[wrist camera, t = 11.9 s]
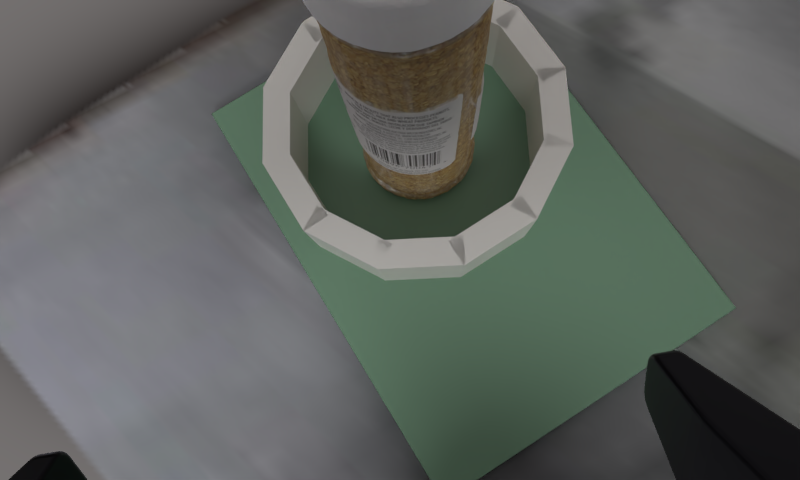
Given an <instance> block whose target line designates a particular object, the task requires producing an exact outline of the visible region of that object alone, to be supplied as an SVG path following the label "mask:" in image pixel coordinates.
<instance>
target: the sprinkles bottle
mask: <svg viewBox="0 0 800 480" xmlns="http://www.w3.org/2000/svg"><path fill="white" fill-rule="evenodd" d="M302 1H303V3H304V4H305V6H306V8H307V9H308V10H309V12H310V13H311V14H312V16H313V17H314V18H315V19H316V20H317V22H318V24H319V27H320V31H321V34H322V37H323V40H324V42H325V45H326V47H327V53H328V58H329V62H330V65H331V68H332V71H333V74H334V76H335V79H336V82H337V84H338V87H339V90H340V93H341V95H342V98H343V101H344V104H345V106H346V109H347V112H348V114H349V117H350V120H351V122H352V125H353V127H354V130H355V133H356V135H357V138H358V140H359V142H360V144H361V145H362V147H363V155H364V159H365V161H366V166H367V168H368V170H369V172H370V174H371V175H372V177H373V178H374V179H375V180H376V182H377V183H378V184H379V185H380V186H382V187H383V188H384V189H385V190H387V191H388V192H391V193H393V194H394V195H397V196H400V197H405V198H407V199H414V200H416V199H429V198H433V197H436V196H439V195H441V194H443V193H445V192H448V191H449V190H450V189H451V188H452V187H454V186H455V185H457V184H458V183H459V182H460V181H461V180H462V179H463V178H464V177H465V175H466V173H467V171H468V169H469V167H470V165H471V163H472V160H473V153H474V145H475V140H474V134H475V131H476V128H477V123H478V118H479V113H480V106H481V100H482V93H483V86H484V65H485V60H486V54H487V46H488V40H489V34H490V24H491V18H492V12H493V4H494V1H495V0H302Z"/></svg>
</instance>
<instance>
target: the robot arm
mask: <svg viewBox="0 0 800 480" xmlns="http://www.w3.org/2000/svg"><path fill="white" fill-rule="evenodd" d="M644 393H645V400H646V404H647V407H648V410H649V412H650V415H651V417H652V420H653V422H654V425H655V428H656V430H657V433H658V435H659V438H660V440H661V443H662V445H663V448H664V450H665V453H666V455H667V458H668V460H669V463H670V466H671V468H672V471H673V473H674V476H675V478H676V480H800V429H798V428H797V427H795V426H794V425H792V424H790V423H789V422H787V421H786V420H784V419H783V418H781V417H780V416H778V415H777V414H775V413H774V412H772V411H771V410H769V409H768V408H766V407H765V406H763V405H762V404H760V403H758V402H757V401H755V400H754V399H752V398H751V397H749V396H748V395H746V394H745V393H743V392H742V391H740V390H739V389H737V388H736V387H734V386H733V385H731V384H729V383H728V382H726V381H725V380H723V379H722V378H720V377H719V376H717V375H716V374H714V373H713V372H711V371H710V370H708V369H707V368H705V367H704V366H702V365H700V364H699V363H697V362H696V361H694V360H693V359H691V358H690V357H688V356H687V355H685V354H684V353H682V352H679V351H675V350H674V351H667V352H661V353H655V354H652V355H651V356H650V357H649V359H648V363H647V372H646V381H645V391H644ZM9 480H87V478H86V477H85V476H84V474H83V473H82V472H81V471H80V469H79V468H78V467H77V465H76V464H75V463H74V462H73V460H72V459H71V457H70V456H69V455H68V454H67V453H65V452H62V451H58V452H52V453H46V454H40V455H37V456H35V457H33V458H32V459H30V461H28V462H27V463H26V464H25V465H24V466H23V467H22V468H21V469H20V470H18V471H17V472H16V473H15V474H14V475H13V476H12V477H11V478H10V479H9Z"/></svg>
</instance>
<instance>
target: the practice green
mask: <svg viewBox="0 0 800 480" xmlns="http://www.w3.org/2000/svg"><path fill="white" fill-rule="evenodd" d="M212 115H213V117H214V119H215V121H216V122H217V124H218V126H219V127H220V129H221V131H222V132H223V134H224V136H225V137H226V139H227V141H228V142H229V144H230V146H231V147H232V149H233V151H234V152H235V154H236V156H237V157H238V159H239V161H240V162H241V164H242V166H243V167H244V169H245V171H246V172H247V174H248V176H249V177H250V179H251V181H252V182H253V184H254V186H255V187H256V189H257V191H258V192H259V194H260V196H261V197H262V199H263V201H264V202H265V204H266V206H267V207H268V209H269V211H270V213H271V214H272V216H273V218H274V219H275V221H276V223H277V224H278V226H279V228H280V229H281V231H282V233H283V234H284V236H285V238H286V239H287V241H288V243H289V244H290V246H291V248H292V249H293V251H294V253H295V254H296V256H297V258H298V259H299V261H300V263H301V264H302V266H303V268H304V269H305V271H306V273H307V274H308V276H309V278H310V279H311V281H312V283H313V284H314V286H315V288H316V289H317V291H318V293H319V294H320V296H321V298H322V299H323V301H324V303H325V305H326V306H327V308H328V310H329V311H330V313H331V315H332V316H333V318H334V320H335V321H336V323H337V325H338V326H339V328H340V330H341V331H342V333H343V335H344V336H345V338H346V340H347V341H348V343H349V345H350V346H351V348H352V350H353V351H354V353H355V355H356V356H357V358H358V360H359V361H360V363H361V365H362V366H363V368H364V370H365V371H366V373H367V375H368V376H369V378H370V380H371V381H372V383H373V385H374V386H375V388H376V390H377V391H378V393H379V395H380V397H381V398H382V400H383V402H384V403H385V405H386V407H387V408H388V410H389V412H390V413H391V415H392V417H393V418H394V420H395V422H396V423H397V425H398V427H399V428H400V430H401V432H402V433H403V435H404V437H405V438H406V440H407V442H408V443H409V445H410V447H411V448H412V450H413V452H414V453H415V455H416V457H417V458H418V460H419V462H420V463H421V465H422V467H423V468H424V470H425V472H426V473H427V475H428V477H429V478H430V480H478V479H479V478H481V477H482V476H484V475H485V474H487V473H488V472H490V471H491V470H493V469H494V468H496V467H497V466H499V465H500V464H502V463H503V462H505V461H506V460H508V459H509V458H511V457H512V456H514V455H515V454H517V453H518V452H520V451H521V450H523V449H524V448H526V447H527V446H529V445H530V444H532V443H534V442H535V441H537V440H538V439H540V438H541V437H543V436H544V435H546V434H547V433H549V432H550V431H552V430H553V429H555V428H556V427H558V426H559V425H561V424H562V423H564V422H565V421H567V420H568V419H570V418H571V417H573V416H574V415H576V414H577V413H579V412H580V411H582V410H583V409H585V408H586V407H588V406H589V405H591V404H592V403H594V402H595V401H597V400H598V399H600V398H601V397H603V396H604V395H606V394H607V393H609V392H610V391H612V390H613V389H615V388H616V387H618V386H619V385H621V384H622V383H624V382H625V381H627V380H628V379H630V378H631V377H633V376H634V375H636V374H637V373H639V372H641V371H642V370H644V369H645V368H647V363H648V359H649V357H650V356H651V355H652V354H655V353H661V352H667V351H672V350H674V349H675V348H677V347H678V346H680V345H681V344H683V343H684V342H686V341H687V340H689V339H690V338H692V337H693V336H695V335H696V334H698V333H699V332H701V331H702V330H704V329H705V328H707V327H708V326H710V325H711V324H713V323H714V322H716V321H717V320H719V319H720V318H722V317H723V316H725V315H726V314H728V313H729V312H731V311H732V310H734V309H735V308H736V307H735V306H734V305H733V304H732V302H731V301H730V300H729V298H728V297H727V296H726V294H725V293H724V292H723V290H722V289H721V288H720V287H719V285H718V284H717V283H716V281H715V280H714V279H713V277H712V276H711V275H710V274H709V272H708V271H707V270H706V268H705V267H704V266H703V264H702V263H701V262H700V261H699V259H698V258H697V257H696V255H695V254H694V253H693V251H692V250H691V249H690V247H689V246H688V245H687V244H686V242H685V241H684V240H683V238H682V237H681V236H680V234H679V233H678V232H677V231H676V229H675V228H674V227H673V225H672V224H671V223H670V221H669V220H668V219H667V217H666V216H665V215H664V214H663V212H662V211H661V210H660V208H659V207H658V206H657V204H656V203H655V202H654V201H653V199H652V198H651V197H650V195H649V194H648V193H647V191H646V190H645V189H644V188H643V186H642V185H641V184H640V182H639V181H638V180H637V178H636V177H635V176H634V174H633V173H632V172H631V171H630V169H629V168H628V167H627V165H626V164H625V163H624V161H623V160H622V159H621V158H620V156H619V155H618V154H617V152H616V151H615V150H614V148H613V147H612V146H611V145H610V143H609V142H608V141H607V139H606V138H605V137H604V135H603V134H602V133H601V131H600V130H599V129H598V128H597V126H596V125H595V124H594V122H593V121H592V120H591V118H590V117H589V116H588V115H587V113H586V112H585V111H584V109H583V108H582V107H581V105H580V104H579V103H578V101H577V100H576V99H575V98H574V96H573V95H572V94H571V92H570V91H569V90H568V86H567V76H566V67H565V66H564V65H563V64H562V62H561V61H560V60H559V58H558V57H557V56H556V54H555V53H554V52H553V51H552V49H551V48H550V47H549V45H548V44H547V43H546V42H545V40H544V39H543V38H542V36H541V35H540V34H539V33H538V31H537V30H536V29H535V27H534V26H533V25H532V23H531V22H530V21H529V20H528V18H527V17H526V16H525V14H524V13H523V12H522V11H521V9H520V8H519V7H518V6H516V5H514V4H511V3H509V2H506V1H504V0H495V1H494V4H493V12H492V18H491V24H490V34H489V40H488V46H487V54H486V60H485V65H484V86H483V93H482V100H481V106H480V113H479V118H478V123H477V128H476V131H475V134H474V140H475V145H474V153H473V160H472V163H471V165H470V167H469V169H468V171H467V173H466V175H465V177H464V178H463V179H462V180H461V181H460V182H459V183H458V184H457V185H455V186H454V187H452V188H451V189H450V190H449V191H448V192H445V193H443V194H441V195H439V196H436V197H433V198H429V199H416V200H414V199H407V198H405V197H400V196H397V195H394V194H393V193H391V192H388V191H387V190H385V189H384V188H383V187H382V186H380V185H379V184H378V183H377V182H376V180H375V179H374V178H373V177H372V175H371V174H370V172H369V170H368V168H367V166H366V161H365V159H364V155H363V147H362V145H361V144H360V142H359V140H358V138H357V135H356V133H355V130H354V127H353V125H352V122H351V120H350V117H349V114H348V112H347V109H346V106H345V104H344V101H343V98H342V95H341V93H340V90H339V87H338V84H337V82H336V79H335V76H334V74H333V71H332V68H331V65H330V62H329V58H328V53H327V47H326V45H325V42H324V40H323V37H322V34H321V31H320V27H319V24H318V22H317V20H316V19H315V18H314V17H313V16H311V17H310V18H308V19H306V20H305V21H303V22H302V23H301V25H300V27H299V28H298V30H297V32H296V33H295V35H294V37H293V38H292V40H291V42H290V43H289V45H288V47H287V48H286V50H285V52H284V53H283V55H282V57H281V58H280V60H279V62H278V63H277V65H276V67H275V68H274V70H273V72H272V73H271V75H270V77H269V78H268V80H267V81H266V82H264V83H262V84H261V85H259V86H257V87H256V88H254V89H252V90H251V91H249V92H247V93H246V94H244V95H242V96H241V97H239V98H237V99H236V100H234V101H232V102H231V103H229V104H227V105H226V106H224V107H222V108H221V109H219V110H217V111H216V112H214V113H212Z"/></svg>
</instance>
